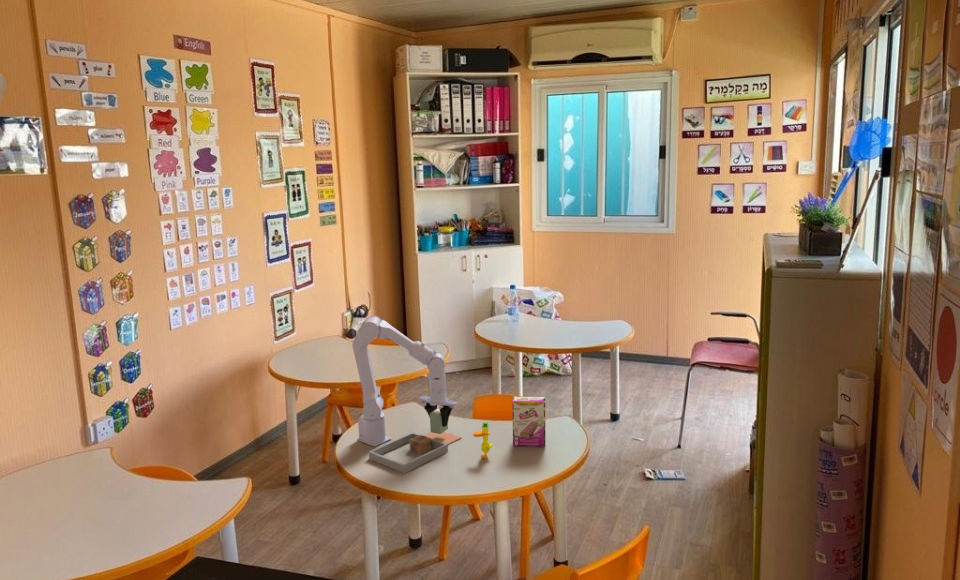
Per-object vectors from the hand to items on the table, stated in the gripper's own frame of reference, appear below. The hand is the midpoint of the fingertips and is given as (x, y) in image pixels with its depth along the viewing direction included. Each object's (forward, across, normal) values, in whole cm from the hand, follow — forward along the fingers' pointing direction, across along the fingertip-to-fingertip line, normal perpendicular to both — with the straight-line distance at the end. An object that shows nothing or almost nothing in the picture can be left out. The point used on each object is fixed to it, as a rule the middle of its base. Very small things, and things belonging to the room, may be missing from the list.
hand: (439, 424), depth 243 cm
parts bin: (+5, -2, -16) cm, 17 cm away
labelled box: (+2, 0, 0) cm, 2 cm away
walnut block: (+5, -1, -10) cm, 12 cm away
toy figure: (+5, +21, -6) cm, 23 cm away
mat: (+5, 0, 0) cm, 5 cm away
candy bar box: (+5, +30, +9) cm, 32 cm away
